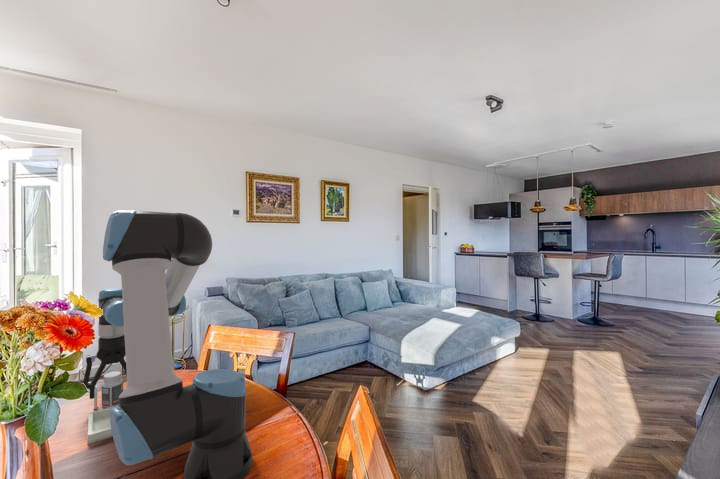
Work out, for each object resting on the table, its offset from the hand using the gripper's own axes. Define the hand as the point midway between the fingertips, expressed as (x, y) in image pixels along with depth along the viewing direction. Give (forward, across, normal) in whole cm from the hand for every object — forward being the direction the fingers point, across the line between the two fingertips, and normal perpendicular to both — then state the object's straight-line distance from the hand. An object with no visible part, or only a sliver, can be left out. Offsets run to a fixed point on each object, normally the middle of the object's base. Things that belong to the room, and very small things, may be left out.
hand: (112, 402), depth 107 cm
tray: (0, -1, +15) cm, 15 cm away
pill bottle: (+1, 0, 0) cm, 1 cm away
